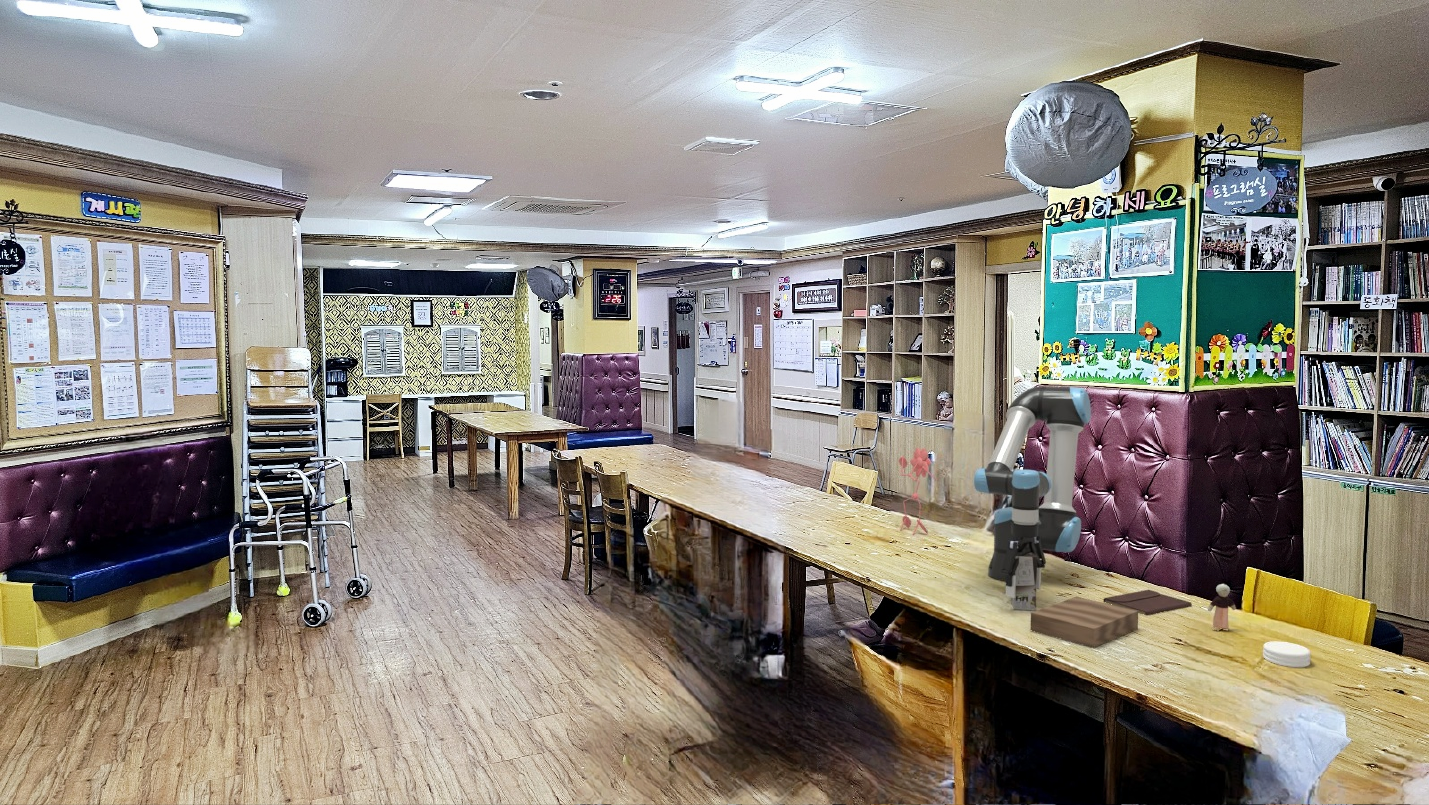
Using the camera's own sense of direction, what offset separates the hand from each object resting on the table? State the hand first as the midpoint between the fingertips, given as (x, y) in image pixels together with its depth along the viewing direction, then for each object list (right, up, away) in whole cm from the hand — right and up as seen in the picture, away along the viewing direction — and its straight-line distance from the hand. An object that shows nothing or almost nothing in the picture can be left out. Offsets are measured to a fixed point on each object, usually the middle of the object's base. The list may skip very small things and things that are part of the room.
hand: (1023, 592), depth 269 cm
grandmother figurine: (+47, -6, -22) cm, 52 cm away
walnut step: (+9, -6, -22) cm, 24 cm away
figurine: (-7, +3, +104) cm, 105 cm away
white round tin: (+49, -8, -46) cm, 68 cm away
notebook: (+38, -4, +2) cm, 38 cm away
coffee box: (0, -4, 0) cm, 4 cm away
